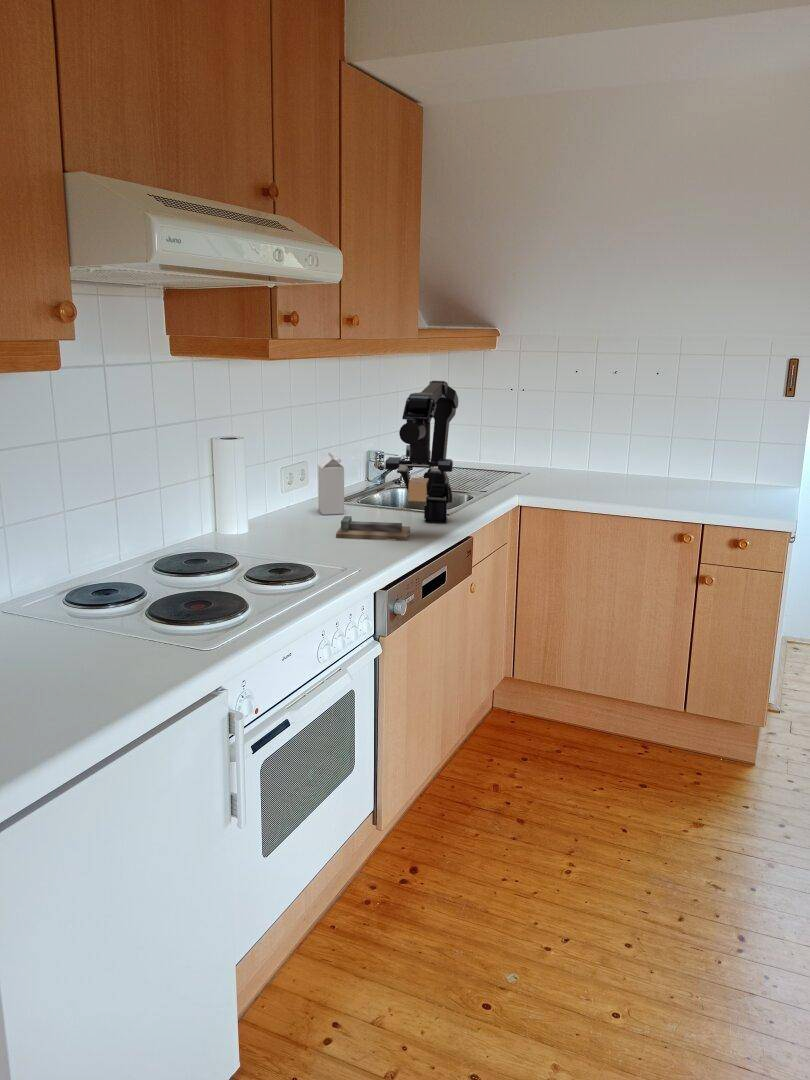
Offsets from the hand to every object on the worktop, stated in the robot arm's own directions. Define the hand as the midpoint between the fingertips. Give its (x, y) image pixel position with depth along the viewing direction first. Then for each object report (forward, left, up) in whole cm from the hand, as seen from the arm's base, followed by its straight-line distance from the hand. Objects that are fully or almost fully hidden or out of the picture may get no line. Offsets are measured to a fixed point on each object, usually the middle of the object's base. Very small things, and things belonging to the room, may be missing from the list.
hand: (418, 494), depth 238 cm
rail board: (+13, 0, -12) cm, 18 cm away
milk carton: (+30, -26, -12) cm, 41 cm away
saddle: (0, 0, -1) cm, 1 cm away
